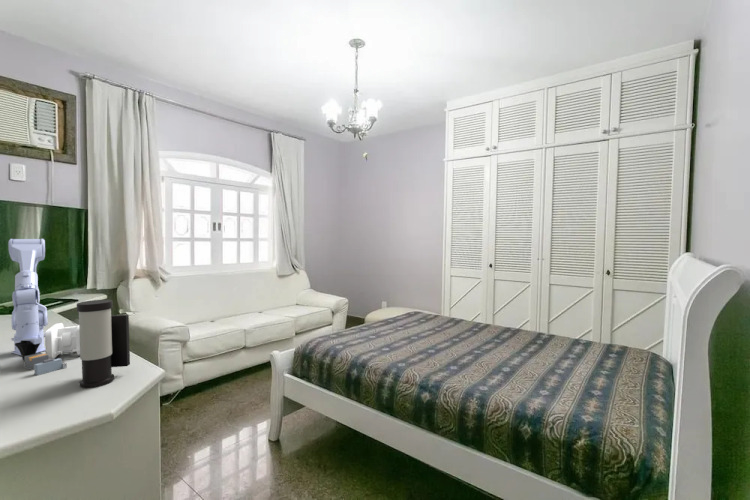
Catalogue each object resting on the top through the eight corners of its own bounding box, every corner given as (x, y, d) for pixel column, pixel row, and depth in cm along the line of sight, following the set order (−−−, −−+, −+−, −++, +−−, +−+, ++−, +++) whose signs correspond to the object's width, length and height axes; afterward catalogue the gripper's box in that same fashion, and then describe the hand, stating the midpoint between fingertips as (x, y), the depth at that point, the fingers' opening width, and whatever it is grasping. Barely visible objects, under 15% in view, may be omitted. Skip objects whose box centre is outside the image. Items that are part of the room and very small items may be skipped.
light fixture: (65, 390, 100) (62, 305, 99) (88, 375, 111) (86, 299, 110) (112, 386, 103) (109, 303, 102) (130, 372, 113) (128, 297, 112)
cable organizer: (82, 358, 127) (81, 327, 127) (43, 363, 122) (42, 330, 122) (91, 347, 140) (90, 318, 140) (56, 351, 135) (55, 322, 135)
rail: (36, 361, 124) (36, 356, 124) (39, 360, 125) (39, 355, 125) (63, 368, 117) (62, 364, 117) (66, 367, 118) (66, 363, 118)
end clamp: (34, 374, 112) (34, 362, 112) (59, 367, 118) (58, 356, 118) (37, 375, 111) (37, 363, 111) (62, 368, 117) (61, 357, 117)
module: (24, 367, 118) (24, 355, 118) (40, 363, 122) (39, 352, 122) (33, 370, 116) (32, 358, 116) (48, 366, 120) (48, 354, 119)
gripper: (1, 323, 120) (3, 362, 120) (22, 328, 114) (23, 368, 114) (28, 319, 126) (30, 356, 127) (49, 323, 120) (50, 361, 121)
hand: (28, 361), depth 121 cm, fingers closed
